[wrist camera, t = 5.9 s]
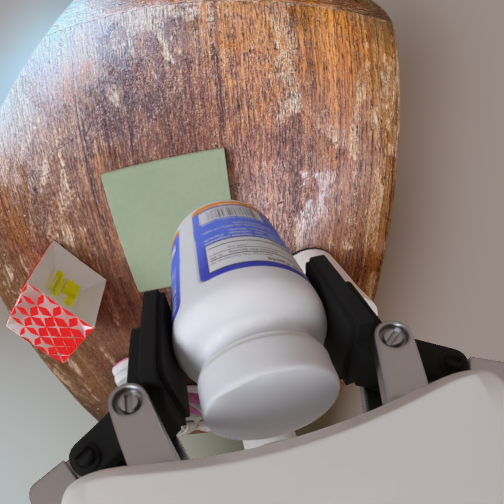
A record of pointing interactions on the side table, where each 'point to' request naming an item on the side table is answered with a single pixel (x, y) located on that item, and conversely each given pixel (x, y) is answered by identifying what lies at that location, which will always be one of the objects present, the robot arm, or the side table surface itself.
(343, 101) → the side table surface
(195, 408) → the running shoe
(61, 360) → the red patterned cube box
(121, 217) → the mat
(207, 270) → the pill bottle
